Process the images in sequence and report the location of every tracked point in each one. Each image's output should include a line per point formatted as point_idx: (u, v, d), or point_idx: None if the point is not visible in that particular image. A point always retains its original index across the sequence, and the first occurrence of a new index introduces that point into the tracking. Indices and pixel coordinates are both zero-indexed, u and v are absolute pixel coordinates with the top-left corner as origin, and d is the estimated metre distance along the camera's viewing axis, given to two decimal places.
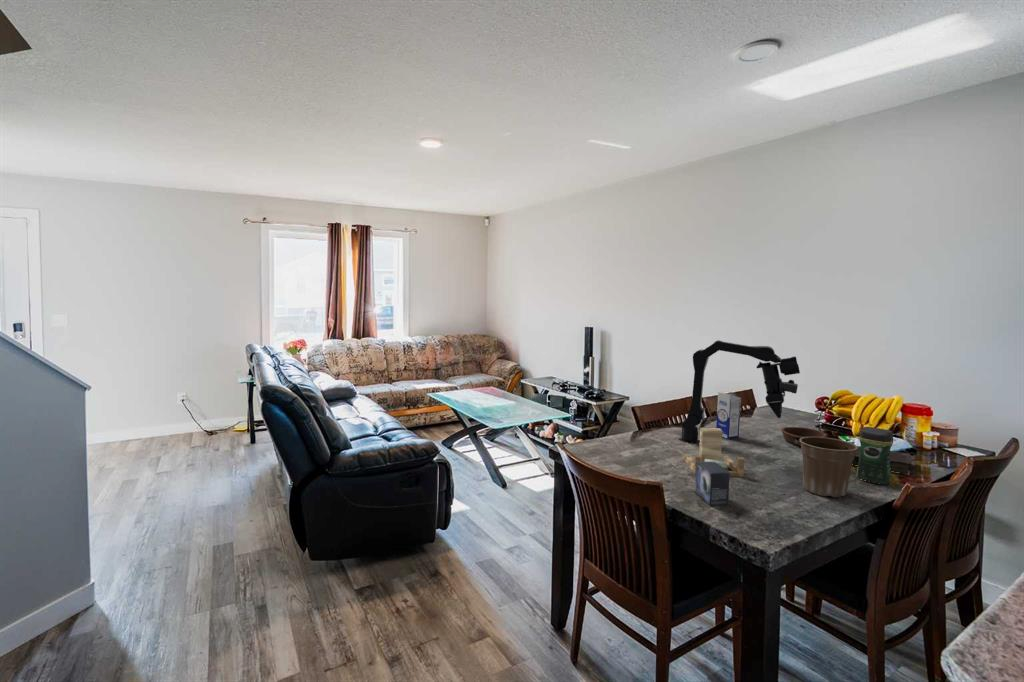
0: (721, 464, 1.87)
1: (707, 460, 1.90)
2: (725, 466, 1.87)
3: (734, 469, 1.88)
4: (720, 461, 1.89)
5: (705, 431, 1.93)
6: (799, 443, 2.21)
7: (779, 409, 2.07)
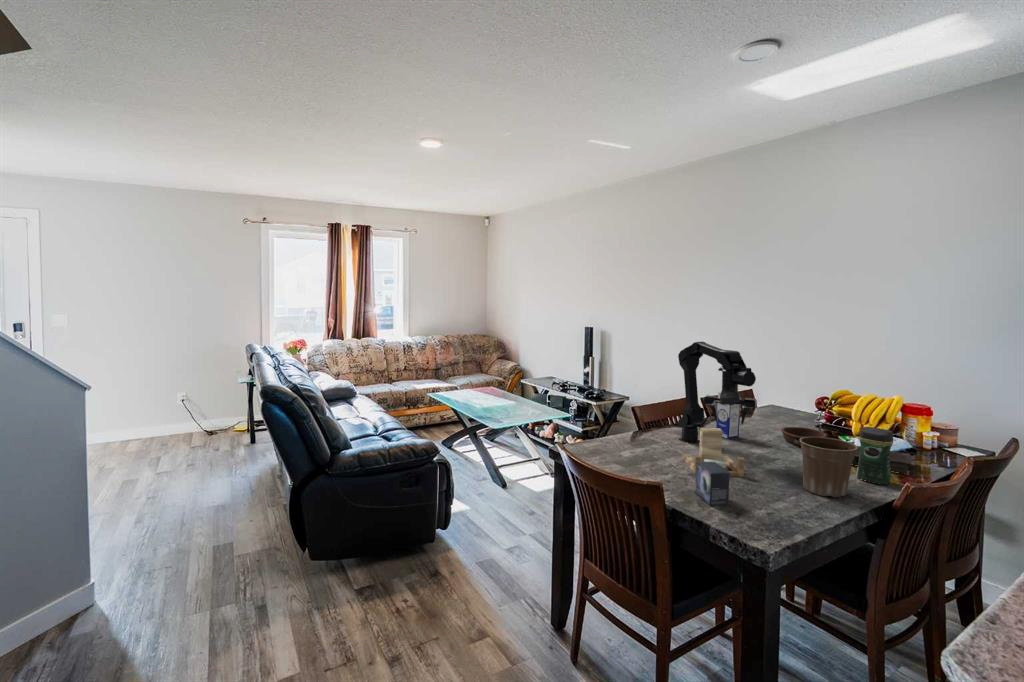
0: (720, 464, 1.87)
1: (706, 460, 1.90)
2: (724, 466, 1.87)
3: (734, 469, 1.88)
4: (719, 461, 1.89)
5: (705, 431, 1.93)
6: (799, 443, 2.21)
7: None
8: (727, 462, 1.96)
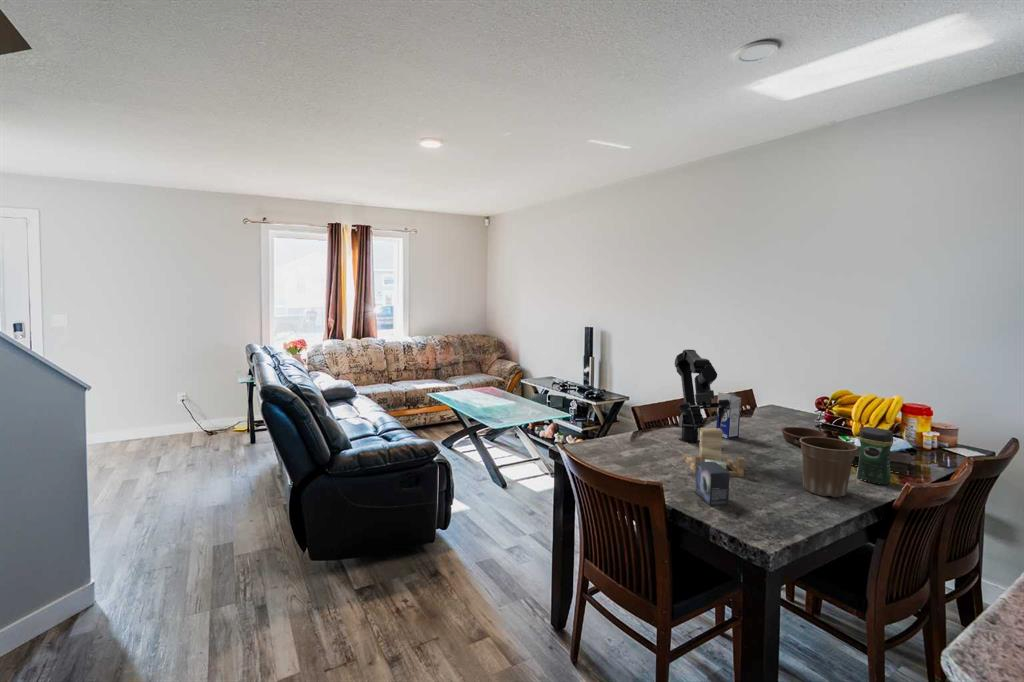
0: (720, 465, 1.87)
1: (707, 460, 1.90)
2: (724, 467, 1.86)
3: (734, 469, 1.88)
4: (720, 462, 1.88)
5: (705, 431, 1.93)
6: (799, 443, 2.21)
7: None
8: (727, 462, 1.96)
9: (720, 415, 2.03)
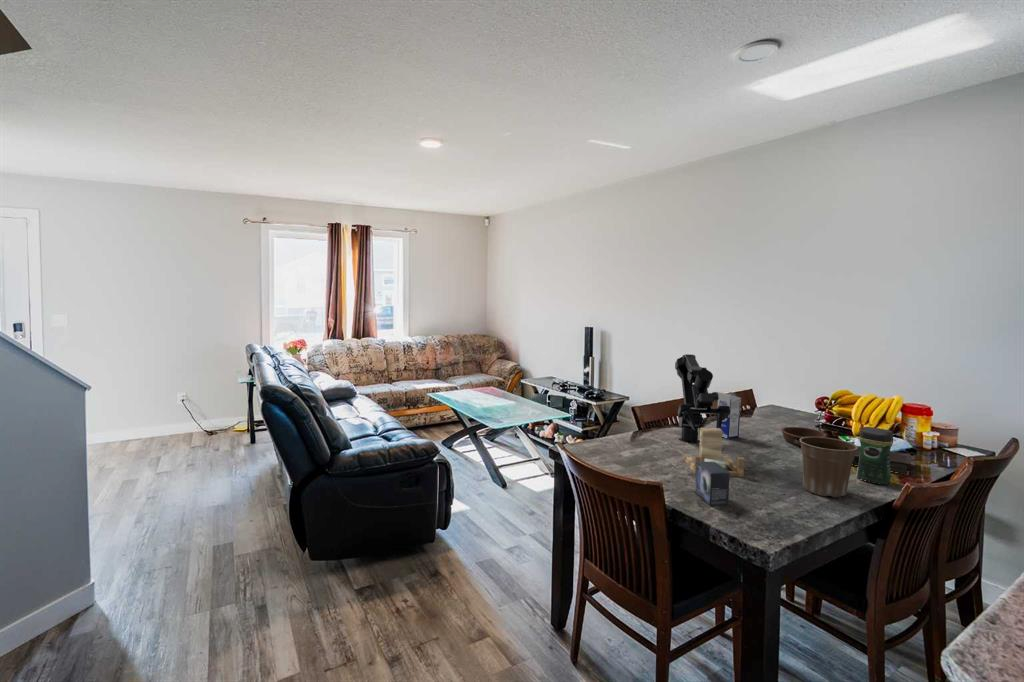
0: (719, 464, 1.87)
1: (706, 460, 1.90)
2: (723, 466, 1.87)
3: (734, 469, 1.88)
4: (719, 461, 1.89)
5: (705, 431, 1.93)
6: (799, 443, 2.21)
7: (690, 420, 2.03)
8: (727, 462, 1.96)
9: (720, 419, 2.02)
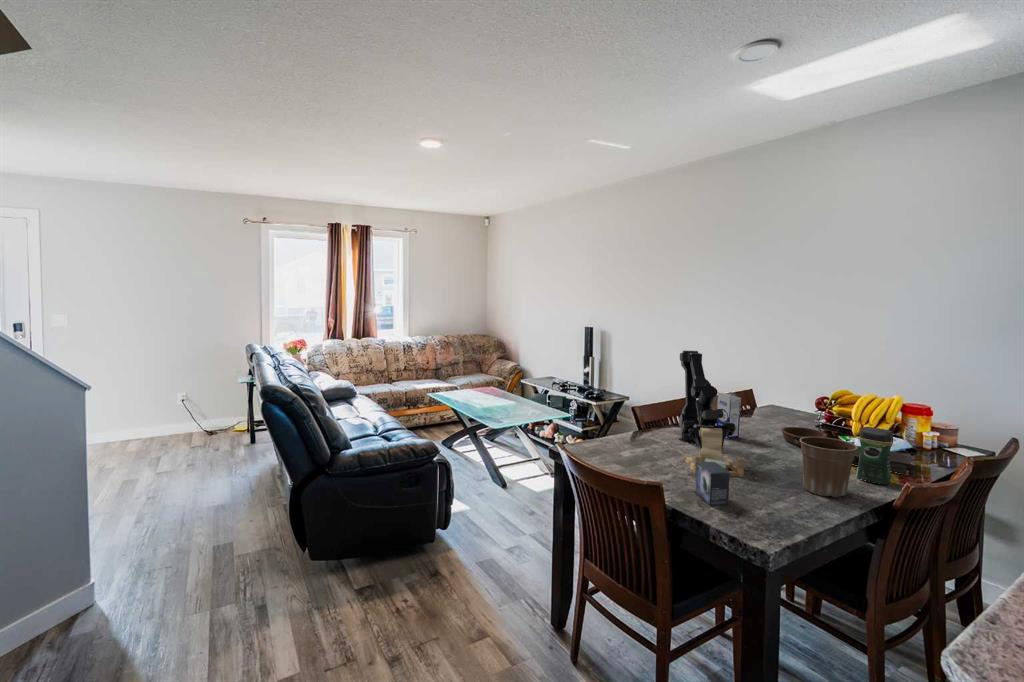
0: (719, 464, 1.87)
1: (707, 459, 1.91)
2: (723, 467, 1.87)
3: (734, 469, 1.88)
4: (720, 461, 1.89)
5: (705, 431, 1.93)
6: (799, 443, 2.21)
7: (696, 438, 1.96)
8: (727, 462, 1.96)
9: (723, 437, 1.95)
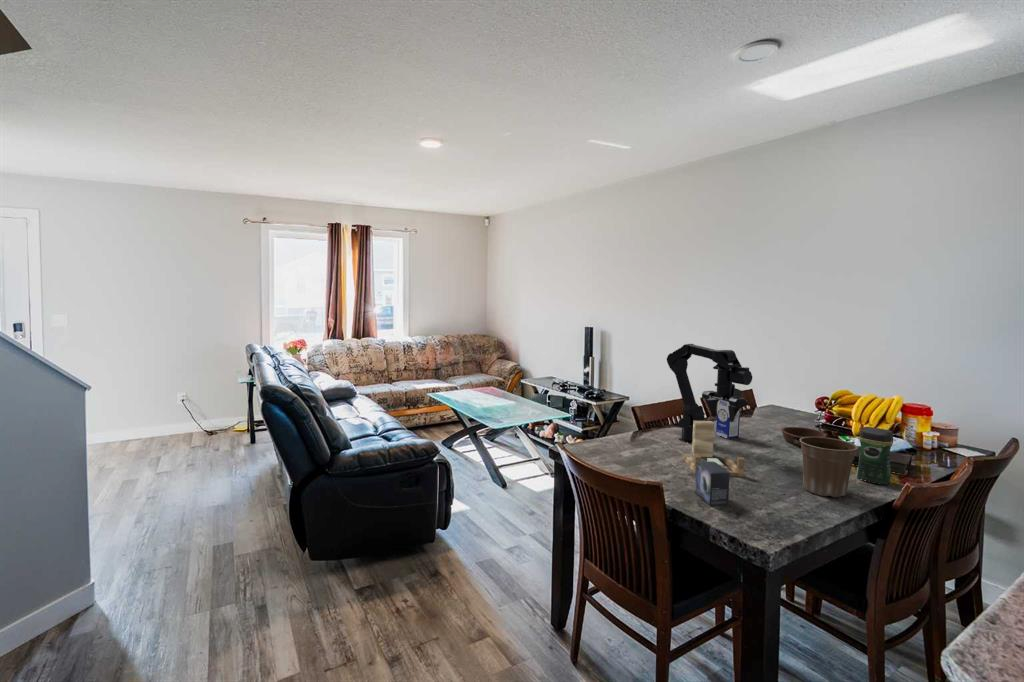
0: None
1: (712, 458, 1.92)
2: None
3: (734, 469, 1.88)
4: (716, 462, 1.88)
5: (698, 424, 2.04)
6: (799, 443, 2.21)
7: (735, 413, 2.09)
8: (727, 462, 1.96)
9: None
